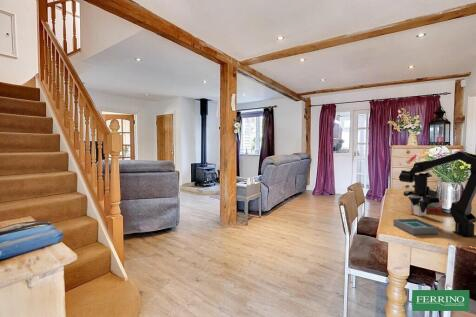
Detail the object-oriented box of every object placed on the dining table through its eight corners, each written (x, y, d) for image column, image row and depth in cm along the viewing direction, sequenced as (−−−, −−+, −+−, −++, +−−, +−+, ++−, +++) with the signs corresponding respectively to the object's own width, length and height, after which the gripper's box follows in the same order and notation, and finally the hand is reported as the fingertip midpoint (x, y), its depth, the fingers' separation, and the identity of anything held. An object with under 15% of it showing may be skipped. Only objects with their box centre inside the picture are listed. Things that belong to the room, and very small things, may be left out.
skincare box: (410, 213, 152) (410, 195, 151) (414, 213, 153) (415, 194, 152) (420, 216, 146) (420, 197, 145) (424, 215, 148) (425, 196, 147)
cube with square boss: (426, 215, 133) (426, 205, 133) (419, 215, 133) (419, 205, 133) (420, 212, 137) (420, 203, 137) (413, 213, 137) (413, 203, 137)
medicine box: (439, 210, 157) (439, 198, 157) (441, 214, 150) (442, 201, 150) (411, 207, 165) (411, 196, 165) (412, 210, 158) (412, 199, 158)
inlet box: (438, 234, 119) (438, 227, 118) (412, 235, 118) (413, 228, 118) (416, 224, 133) (416, 218, 132) (393, 225, 132) (393, 219, 132)
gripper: (450, 186, 125) (448, 216, 126) (421, 181, 143) (420, 206, 145) (429, 187, 124) (428, 216, 126) (403, 181, 143) (402, 207, 144)
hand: (419, 211), depth 135 cm, fingers closed on cube with square boss, 4 cm apart
